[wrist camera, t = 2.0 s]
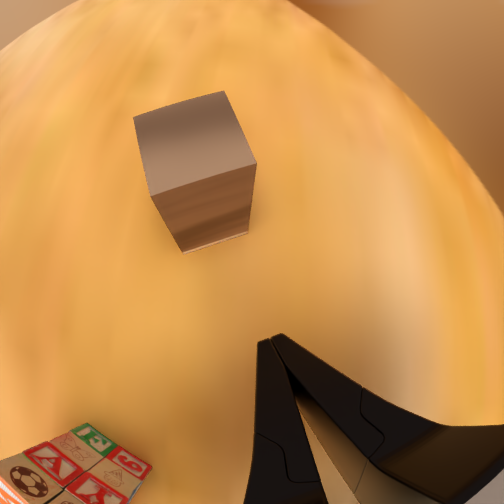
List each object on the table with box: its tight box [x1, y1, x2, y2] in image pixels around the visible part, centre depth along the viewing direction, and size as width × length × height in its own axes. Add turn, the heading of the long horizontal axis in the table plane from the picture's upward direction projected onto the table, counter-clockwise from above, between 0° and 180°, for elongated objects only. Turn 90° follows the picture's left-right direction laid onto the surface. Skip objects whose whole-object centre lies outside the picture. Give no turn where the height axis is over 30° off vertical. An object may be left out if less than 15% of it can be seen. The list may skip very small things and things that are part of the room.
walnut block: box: [133, 91, 257, 255], centre depth 19 cm, size 5×5×10 cm
